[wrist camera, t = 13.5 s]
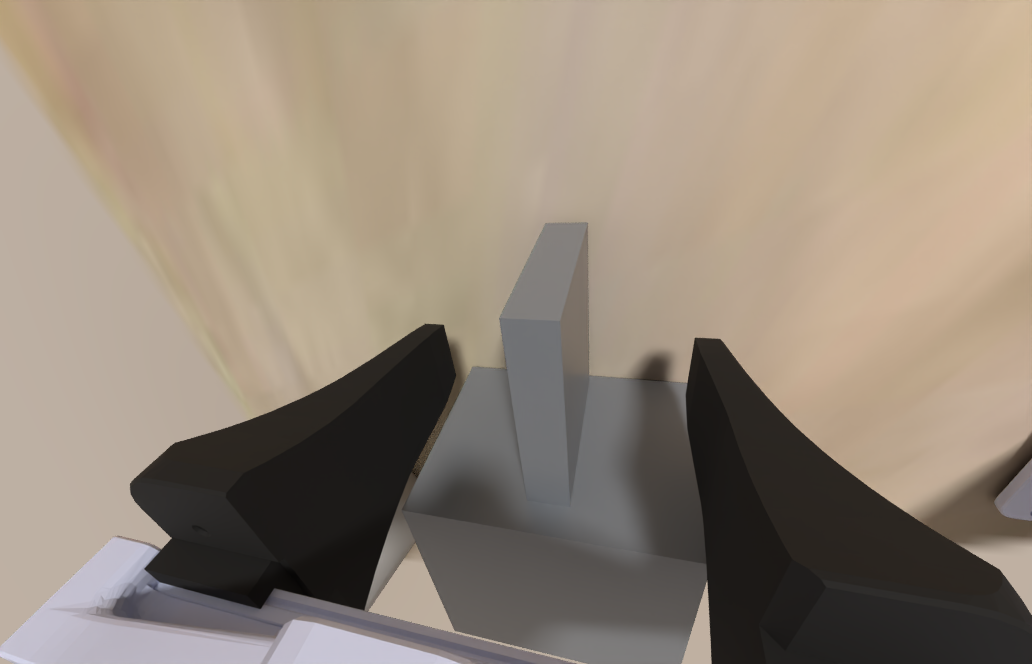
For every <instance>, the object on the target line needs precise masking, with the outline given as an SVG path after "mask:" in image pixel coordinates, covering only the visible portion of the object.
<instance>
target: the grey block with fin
mask: <svg viewBox="0 0 1032 664" xmlns="http://www.w3.org/2000/svg"><path fill="white" fill-rule="evenodd" d="M499 320H500V326H501V333H502V340H503V346H504V353H505V359H506V366H507V369H497V368H484V367H472V369H471V371H470V373H469V375H468V377H467V379H466V381H465V383H464V385H463V387H462V389H461V391H460V393H459V395H458V398H457V400H456V402H455V404H454V406H453V408H452V410H451V412H450V414H449V416H448V418H447V420H446V422H445V424H444V426H443V428H442V430H441V432H440V434H439V436H438V438H437V440H436V442H435V444H434V446H433V448H432V450H431V452H430V454H429V456H428V458H427V460H426V462H425V464H424V466H423V468H422V470H421V472H420V474H419V476H418V478H417V480H416V482H415V484H414V486H413V488H412V490H411V492H410V494H409V496H408V498H407V500H406V502H405V504H404V506H403V508H402V510H401V511H402V513H403V515H404V517H405V520H406V522H407V524H408V526H409V529H410V531H411V533H412V535H413V538H414V540H415V542H416V544H417V547H418V549H419V551H420V553H421V556H422V558H423V560H424V562H425V565H426V567H427V569H428V572H429V574H430V576H431V578H432V581H433V583H434V585H435V587H436V590H437V592H438V594H439V596H440V599H441V600H442V603H443V605H444V608H445V609H446V612H447V614H448V617H449V619H450V621H451V623H452V626H453V628H454V630H455V631H458V632H462V633H466V634H470V635H474V636H478V637H482V638H486V639H491V640H494V641H498V642H502V643H506V644H510V645H514V646H519V647H522V648H527V649H531V650H535V651H539V652H543V653H547V654H551V655H555V656H559V657H563V658H567V659H571V660H575V661H579V662H583V663H587V664H681V663H682V660H683V657H684V653H685V650H686V647H687V644H688V640H689V637H690V634H691V631H692V627H693V624H694V621H695V618H696V614H697V611H698V608H699V605H700V601H701V598H702V595H703V591H704V589H705V585H706V582H707V566H706V552H705V539H704V525H703V516H702V509H701V502H700V496H699V491H698V485H697V480H696V474H695V469H694V463H693V458H692V453H691V447H690V441H689V436H688V430H687V416H686V389H687V383H678V382H665V381H652V380H639V379H626V378H613V377H600V376H589V309H588V223H546V224H545V226H544V228H543V230H542V232H541V234H540V236H539V238H538V240H537V242H536V244H535V246H534V248H533V250H532V252H531V254H530V256H529V258H528V260H527V262H526V264H525V267H524V269H523V271H522V273H521V275H520V277H519V279H518V281H517V283H516V285H515V287H514V289H513V291H512V293H511V295H510V297H509V299H508V301H507V303H506V305H505V307H504V309H503V311H502V314H501V316H500V318H499Z"/></svg>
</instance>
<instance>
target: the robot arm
mask: <svg viewBox="0 0 1032 664" xmlns="http://www.w3.org/2000/svg"><path fill="white" fill-rule="evenodd" d="M455 377H456V373H455V369H454V365H453V361H452V357H451V353H450V349H449V345H448V340H447V336H446V332H445V328H444V325H438V324H425V325H423V326H421V327H419V328H418V329H416V330H415V331H413V332H411V333H410V334H408V335H407V336H405V337H404V338H402V339H401V340H399V341H398V342H397V343H395V344H394V345H392V346H391V347H389V348H388V349H386V350H385V351H383V352H382V353H380V354H379V355H377V356H376V357H374V358H373V359H371V360H370V361H368V362H366V363H365V364H363V365H361V366H360V367H358V368H357V369H355V370H353V371H352V372H350V373H348V374H347V375H345V376H344V377H342V378H340V379H338V380H337V381H335V382H333V383H331V384H329V385H327V386H326V387H324V388H322V389H320V390H318V391H316V392H314V393H312V394H310V395H308V396H306V397H304V398H301V399H299V400H297V401H294V402H292V403H290V404H288V405H285V406H283V407H281V408H278V409H276V410H274V411H272V412H269V413H266V414H264V415H261V416H259V417H256V418H253V419H251V420H248V421H245V422H242V423H240V424H236V425H234V426H231V427H228V428H225V429H221V430H218V431H215V432H211V433H208V434H205V435H201V436H198V437H194V438H191V439H187V440H184V441H180V442H177V443H174V444H173V445H172V446H170V447H169V448H168V449H167V450H166V451H165V452H164V453H163V454H162V455H161V456H159V457H158V458H157V459H156V460H155V461H154V462H153V463H152V464H150V465H149V466H148V467H147V468H146V469H145V470H144V471H143V472H141V473H140V474H139V475H138V476H137V477H136V478H135V479H134V480H133V481H132V482H131V483H130V491H131V495H132V497H133V499H134V501H135V502H136V503H137V504H138V505H139V506H140V508H141V509H142V510H143V511H144V512H145V513H146V514H148V515H149V516H150V517H151V518H152V519H153V520H154V521H155V522H156V523H157V524H158V525H159V526H160V527H161V528H162V529H163V530H164V531H165V532H166V533H167V534H168V535H169V536H170V537H172V539H171V540H170V541H169V542H168V543H167V544H166V545H165V546H164V548H163V549H162V550H161V549H160V548H158V547H156V546H155V545H152V544H150V543H147V542H143V541H138V540H134V539H130V538H125V537H122V536H116V537H113V538H112V539H111V540H110V541H109V542H107V544H106V545H104V546H103V547H102V549H100V550H99V551H98V552H97V553H96V554H95V555H94V556H93V557H92V558H91V559H90V560H89V561H88V562H87V563H86V564H85V565H84V566H83V567H82V568H81V569H80V570H79V571H78V572H77V573H76V574H74V576H73V577H72V578H70V579H69V580H68V581H67V582H66V583H65V584H64V585H63V586H62V587H61V588H60V589H59V590H58V591H57V592H56V593H55V594H54V595H53V596H52V597H51V598H50V599H49V600H48V601H47V602H46V603H45V604H44V605H43V606H41V607H40V608H39V609H38V611H36V612H35V613H34V614H33V615H32V616H31V617H30V618H29V619H28V620H27V621H26V622H25V623H24V624H23V625H22V626H21V627H20V628H19V629H18V630H17V631H16V632H15V633H14V634H13V635H11V636H10V638H8V639H7V640H6V641H5V642H4V643H3V644H2V645H1V646H0V657H1V658H3V659H6V660H8V661H10V662H12V663H14V664H576V663H571V662H568V661H563V660H560V659H556V658H552V657H548V656H544V655H540V654H536V653H532V652H527V651H523V650H519V649H516V648H512V647H507V646H504V645H500V644H496V643H492V642H488V641H484V640H480V639H476V638H472V637H467V636H463V635H459V634H456V633H452V632H448V631H444V630H439V629H435V628H432V627H428V626H424V625H420V624H415V623H412V622H407V621H404V620H400V619H396V618H391V617H387V616H383V615H379V614H375V613H371V612H367V611H364V610H365V606H366V603H367V599H368V596H369V593H370V589H371V586H372V582H373V579H374V575H375V572H376V569H377V565H378V562H379V559H380V556H381V553H382V550H383V547H384V544H385V541H386V538H387V535H388V532H389V529H390V526H391V524H392V521H393V518H394V515H395V512H396V510H397V507H398V504H399V502H400V499H401V497H402V494H403V491H404V489H405V486H406V484H407V481H408V479H409V476H410V474H411V472H412V470H413V468H414V465H415V463H416V461H417V459H418V457H419V456H420V454H421V452H422V450H423V448H424V446H425V444H426V442H427V440H428V438H429V436H430V435H431V433H432V431H433V429H434V427H435V425H436V423H437V421H438V419H439V417H440V415H441V413H442V411H443V409H444V407H445V405H446V403H447V400H448V398H449V395H450V392H451V389H452V386H453V383H454V380H455ZM686 416H687V430H688V436H689V441H690V447H691V453H692V458H693V463H694V469H695V474H696V480H697V485H698V491H699V496H700V502H701V509H702V516H703V525H704V539H705V552H706V566H707V582H708V596H709V597H708V598H709V615H710V616H709V617H710V636H711V657H712V664H1032V615H1031V614H1030V612H1029V610H1028V609H1027V607H1026V606H1025V604H1024V602H1023V601H1022V599H1021V598H1020V596H1019V595H1018V594H1017V593H1016V591H1015V590H1014V588H1013V587H1012V586H1011V584H1010V583H1009V582H1008V580H1007V579H1006V577H1005V576H1004V575H1003V574H1002V572H1001V571H1000V570H999V569H997V568H996V567H994V566H993V565H991V564H989V563H988V562H986V561H984V560H983V559H981V558H979V557H977V556H976V555H974V554H972V553H971V552H969V551H967V550H966V549H964V548H962V547H961V546H959V545H957V544H956V543H954V542H952V541H951V540H949V539H947V538H946V537H944V536H942V535H941V534H939V533H937V532H936V531H934V530H932V529H931V528H929V527H927V526H926V525H924V524H923V523H921V522H920V521H918V520H917V519H915V518H914V517H912V516H911V515H909V514H908V513H906V512H905V511H903V510H902V509H900V508H899V507H897V506H896V505H894V504H893V503H891V502H890V501H888V500H887V499H885V498H884V497H882V496H881V495H880V494H878V493H877V492H875V491H874V490H872V489H871V488H870V487H868V486H867V485H866V484H864V483H863V482H862V481H860V480H859V479H858V478H856V477H855V476H854V475H852V474H851V473H850V472H848V471H847V470H846V469H844V468H843V467H842V466H841V465H839V464H838V463H837V462H836V461H834V460H833V459H832V458H831V457H829V456H828V455H827V454H826V453H824V452H823V451H822V450H821V449H820V448H819V447H818V446H816V445H815V444H814V443H813V442H812V441H811V440H810V439H808V438H807V437H806V436H805V435H804V434H803V433H802V432H801V431H799V430H798V429H797V428H796V427H795V426H794V425H793V424H792V423H791V422H790V421H789V420H788V419H787V418H786V417H785V416H784V415H783V414H782V413H781V412H780V411H779V410H778V408H777V407H776V406H775V405H774V404H773V403H772V402H771V401H770V400H769V399H768V398H767V396H766V395H765V394H764V393H763V392H762V391H761V389H760V388H759V387H758V386H757V385H756V384H755V383H754V381H753V380H752V379H751V378H750V377H749V375H748V374H747V373H746V372H745V370H744V369H743V368H742V366H741V365H740V364H739V363H738V361H737V360H736V359H735V357H734V356H733V355H732V353H731V352H730V351H729V349H728V348H727V347H726V345H725V344H724V343H723V342H722V340H721V339H710V338H695V341H694V347H693V353H692V359H691V365H690V371H689V377H688V383H687V389H686ZM994 504H995V506H996V507H997V509H998V510H999V511H1000V513H1001V514H1002V515H1004V516H1006V517H1009V518H1013V519H1021V520H1028V521H1032V459H1031V460H1030V461H1029V462H1028V463H1027V464H1026V465H1025V467H1024V468H1023V469H1022V470H1021V471H1020V472H1019V473H1018V474H1017V476H1016V477H1015V478H1014V479H1013V480H1012V481H1011V482H1010V483H1009V484H1008V486H1007V487H1006V488H1005V489H1004V490H1003V491H1002V492H1001V493H1000V494H999V496H998V497H997V498H996V499H995V501H994Z"/></svg>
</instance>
